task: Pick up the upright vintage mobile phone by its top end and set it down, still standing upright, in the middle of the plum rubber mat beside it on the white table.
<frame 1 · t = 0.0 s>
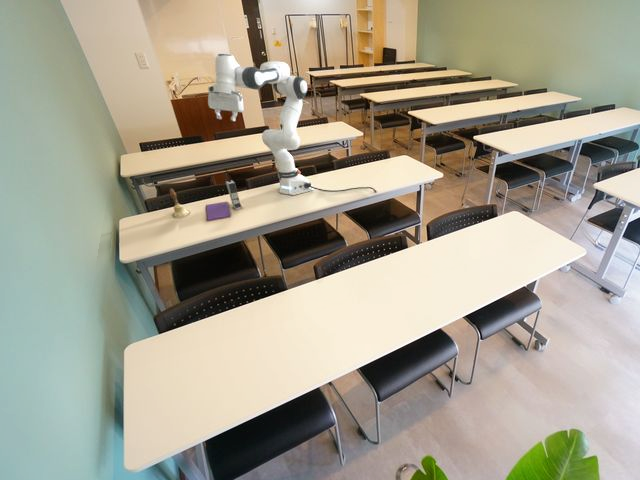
hand: (226, 120, 173), 53 cm above the table, tool tilted 20°, fingers open, 8 cm apart
mat: (218, 211, 206), on the table
vintage mobile phone: (237, 208, 210), on the table
hand bell: (181, 214, 202), on the table
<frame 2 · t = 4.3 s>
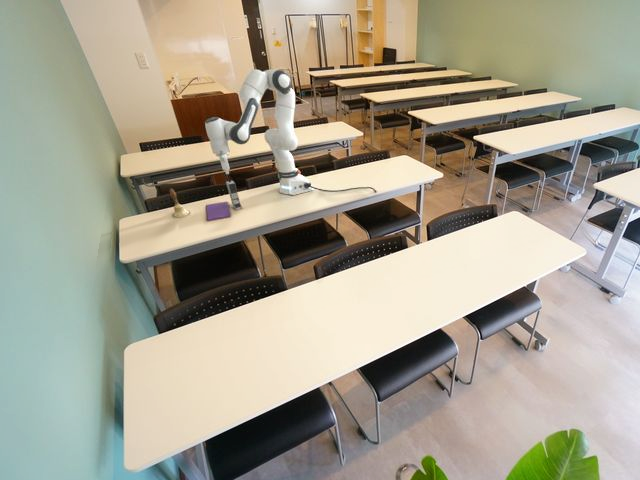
hand: (227, 173, 197), 22 cm above the table, tool pointing down, fingers closed on vintage mobile phone
vintage mobile phone: (237, 208, 210), on the table, touching gripper
everything else where it was.
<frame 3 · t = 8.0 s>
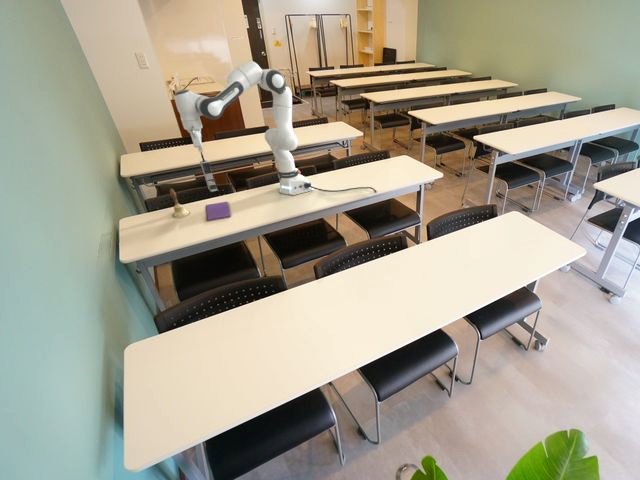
hand: (201, 151, 186), 36 cm above the table, tool pointing down, fingers closed on vintage mobile phone
vintage mobile phone: (213, 190, 198), point 14 cm above the table, touching gripper
everything else where it was.
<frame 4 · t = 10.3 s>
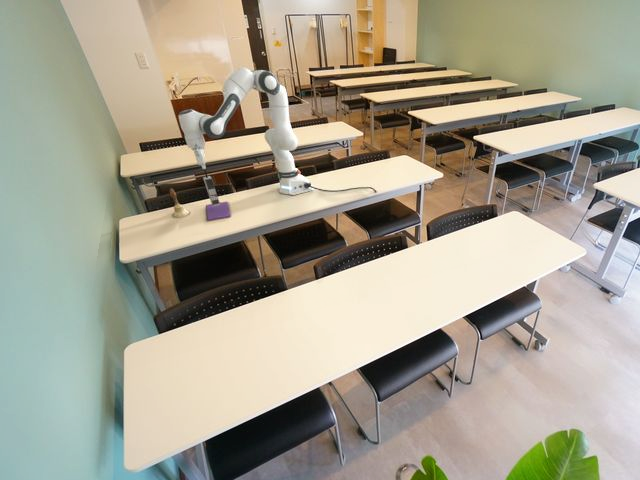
hand: (204, 167, 191), 27 cm above the table, tool pointing down, fingers closed on vintage mobile phone
vintage mobile phone: (216, 204, 203), point 4 cm above the table, touching gripper
everything else where it was.
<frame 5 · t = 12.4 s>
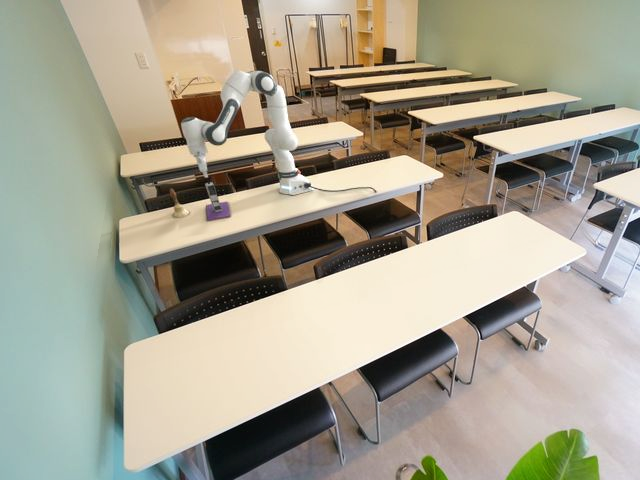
hand: (206, 174, 193), 23 cm above the table, tool pointing down, fingers open, 8 cm apart
vintage mobile phone: (218, 210, 205), point 1 cm above the table, touching mat
everything else where it was.
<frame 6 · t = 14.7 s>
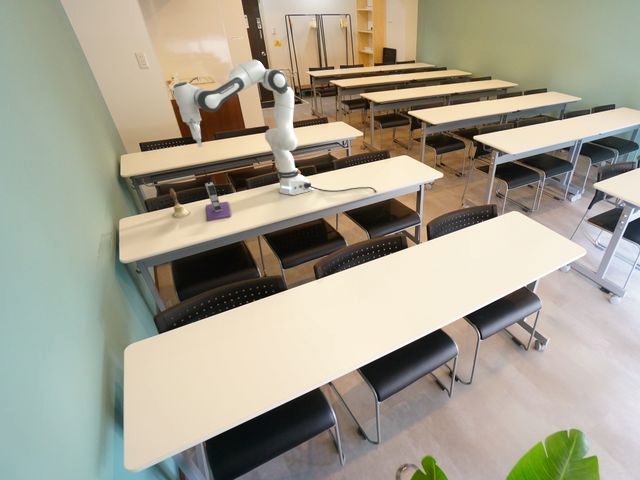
hand: (200, 144, 187), 39 cm above the table, tool pointing down, fingers open, 8 cm apart
nothing on the table moved.
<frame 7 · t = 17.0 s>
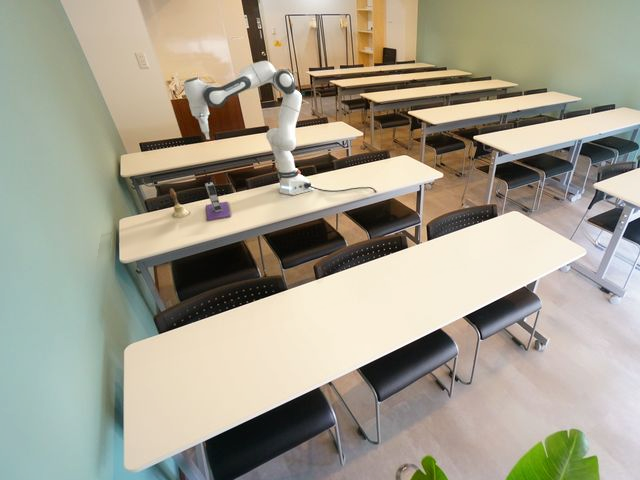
hand: (207, 137, 197), 39 cm above the table, tool pointing down, fingers open, 8 cm apart
nothing on the table moved.
at the end: vintage mobile phone inside the target area on the mat (0.5 cm from its centre), point 0.6 cm above the mat's base; vintage mobile phone tilted 0°; the gripper is holding nothing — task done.
